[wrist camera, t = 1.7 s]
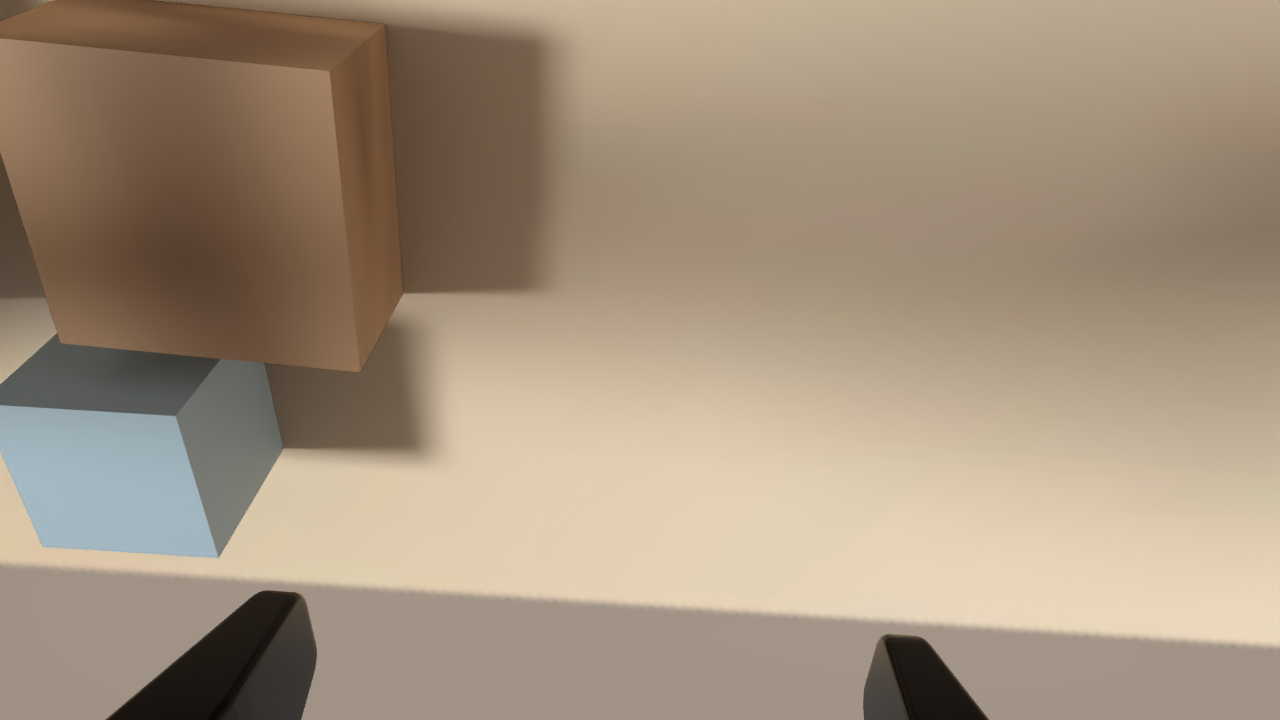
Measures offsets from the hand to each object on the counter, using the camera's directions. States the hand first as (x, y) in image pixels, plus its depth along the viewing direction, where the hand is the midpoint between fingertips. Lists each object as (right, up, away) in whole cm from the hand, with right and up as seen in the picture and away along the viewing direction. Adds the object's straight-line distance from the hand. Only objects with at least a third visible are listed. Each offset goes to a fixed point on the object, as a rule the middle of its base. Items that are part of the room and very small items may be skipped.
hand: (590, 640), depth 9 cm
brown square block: (-8, +7, +10) cm, 15 cm away
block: (-11, +2, +14) cm, 18 cm away
